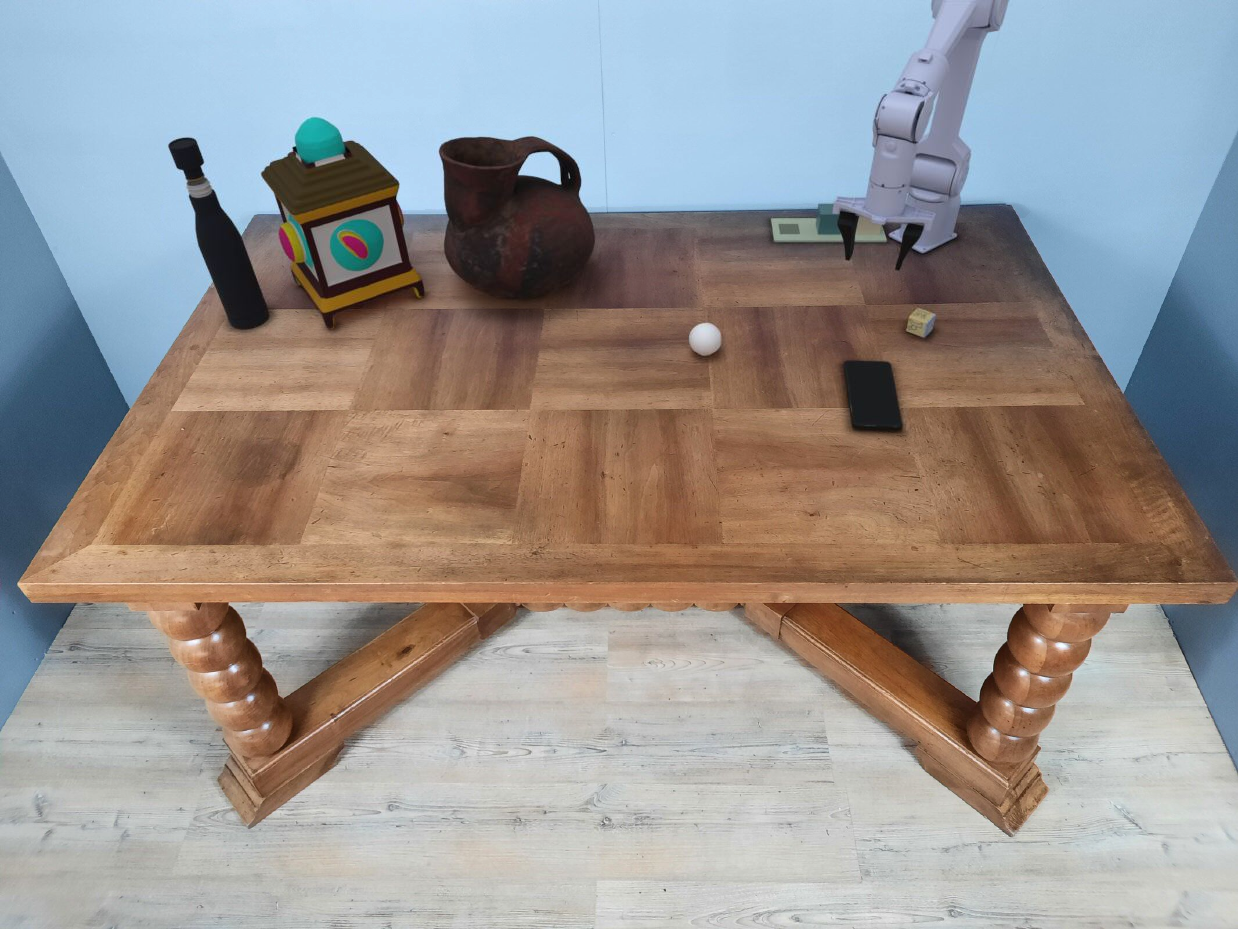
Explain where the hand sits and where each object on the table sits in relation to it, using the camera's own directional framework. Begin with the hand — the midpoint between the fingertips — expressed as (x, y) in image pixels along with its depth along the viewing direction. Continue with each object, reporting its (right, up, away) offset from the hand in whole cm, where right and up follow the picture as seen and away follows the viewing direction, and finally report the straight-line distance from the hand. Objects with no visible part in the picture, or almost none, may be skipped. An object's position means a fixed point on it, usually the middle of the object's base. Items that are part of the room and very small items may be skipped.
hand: (873, 262), depth 136 cm
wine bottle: (-101, -7, +10) cm, 102 cm away
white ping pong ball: (-26, -14, 0) cm, 30 cm away
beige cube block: (+6, +12, +24) cm, 28 cm away
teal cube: (-1, +12, +25) cm, 27 cm away
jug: (-56, 0, +16) cm, 58 cm away
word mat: (-1, +11, +25) cm, 28 cm away
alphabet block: (+8, -10, +2) cm, 13 cm away
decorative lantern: (-84, -2, +15) cm, 85 cm away
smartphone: (-3, -22, -9) cm, 23 cm away
